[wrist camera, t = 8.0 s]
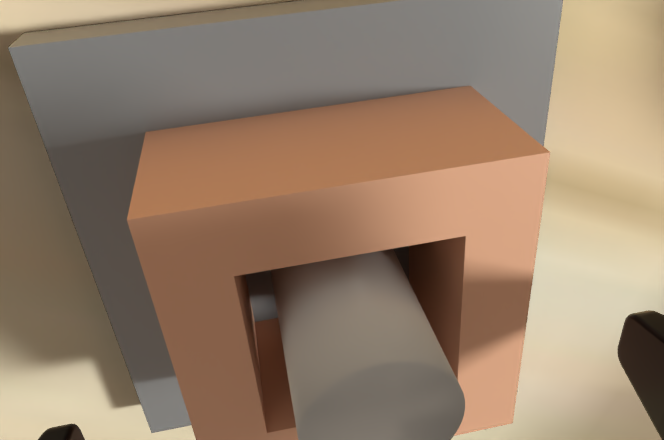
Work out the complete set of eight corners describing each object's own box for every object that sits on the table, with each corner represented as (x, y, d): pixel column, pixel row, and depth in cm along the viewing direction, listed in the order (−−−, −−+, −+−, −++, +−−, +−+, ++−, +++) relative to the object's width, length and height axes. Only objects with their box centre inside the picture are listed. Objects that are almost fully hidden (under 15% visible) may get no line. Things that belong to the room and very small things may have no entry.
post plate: (499, 335, 17) (623, 532, 12) (154, 403, 16) (131, 652, 11) (539, -28, 12) (791, 53, 7) (23, 32, 11) (-141, 187, 6)
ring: (457, 323, 15) (512, 423, 12) (210, 371, 14) (211, 488, 12) (470, 85, 12) (550, 152, 9) (145, 132, 11) (126, 220, 8)
